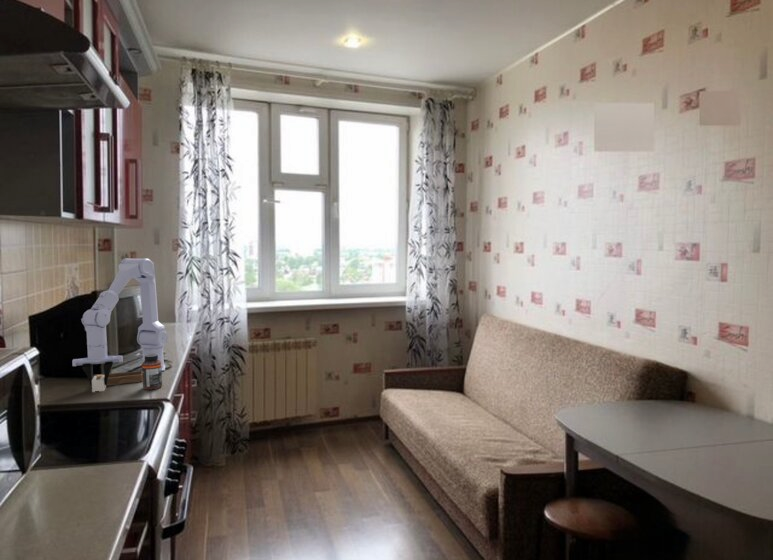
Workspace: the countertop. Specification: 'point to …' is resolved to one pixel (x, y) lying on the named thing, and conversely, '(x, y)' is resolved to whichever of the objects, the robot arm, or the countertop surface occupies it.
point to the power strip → (98, 383)
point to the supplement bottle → (151, 372)
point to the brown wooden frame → (124, 377)
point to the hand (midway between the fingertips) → (99, 384)
